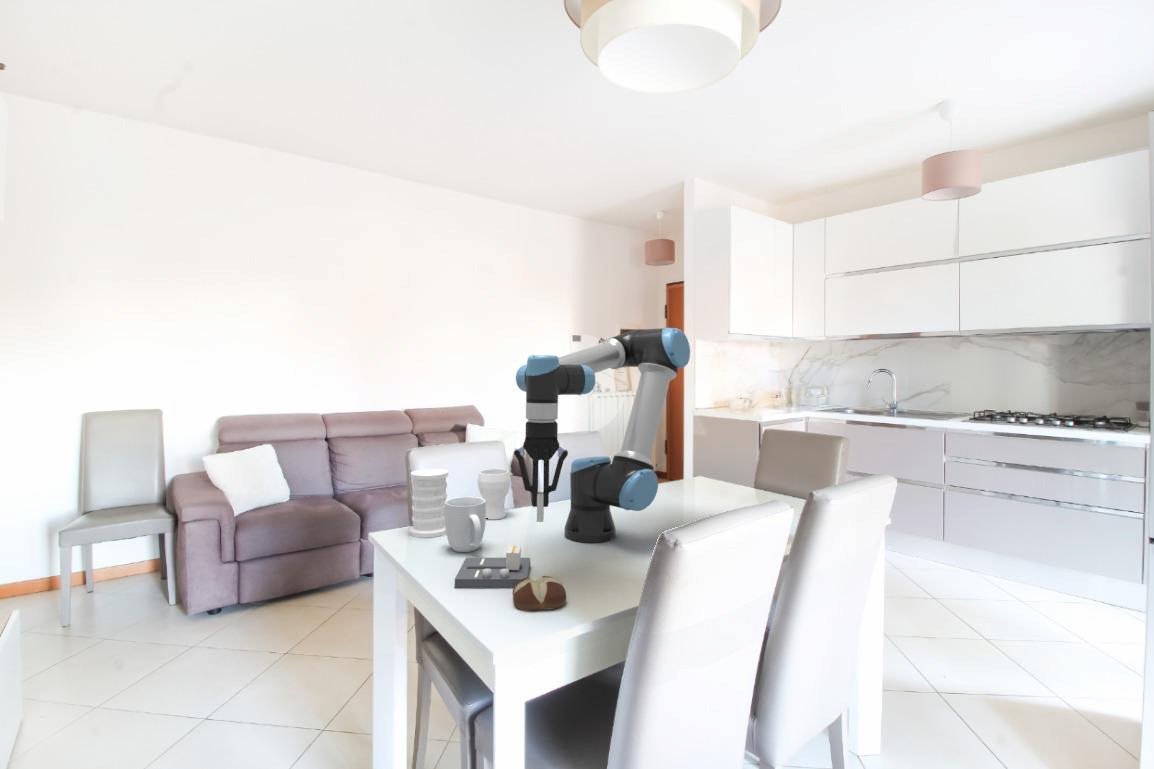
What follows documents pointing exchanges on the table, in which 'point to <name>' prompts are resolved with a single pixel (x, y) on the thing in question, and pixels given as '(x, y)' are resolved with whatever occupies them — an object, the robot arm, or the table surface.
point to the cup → (494, 491)
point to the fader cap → (513, 557)
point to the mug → (465, 522)
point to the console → (490, 573)
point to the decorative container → (428, 502)
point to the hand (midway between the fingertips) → (540, 520)
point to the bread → (539, 593)
